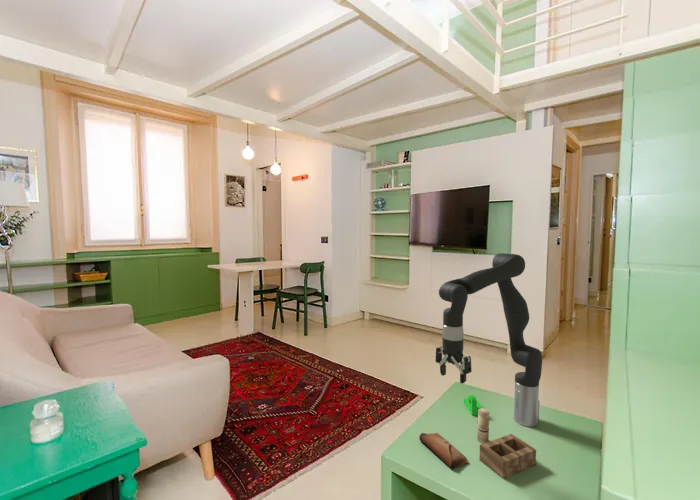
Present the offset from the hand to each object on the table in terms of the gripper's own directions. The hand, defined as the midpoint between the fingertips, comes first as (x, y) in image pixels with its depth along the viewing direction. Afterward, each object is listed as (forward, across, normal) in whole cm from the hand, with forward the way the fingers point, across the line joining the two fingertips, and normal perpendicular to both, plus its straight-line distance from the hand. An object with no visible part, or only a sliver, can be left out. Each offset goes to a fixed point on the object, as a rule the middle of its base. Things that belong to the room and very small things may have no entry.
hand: (452, 378), depth 124 cm
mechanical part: (+28, +11, -31) cm, 43 cm away
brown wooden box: (+27, -17, -8) cm, 33 cm away
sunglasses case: (+27, 0, +4) cm, 28 cm away
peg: (+27, -5, -13) cm, 30 cm away
